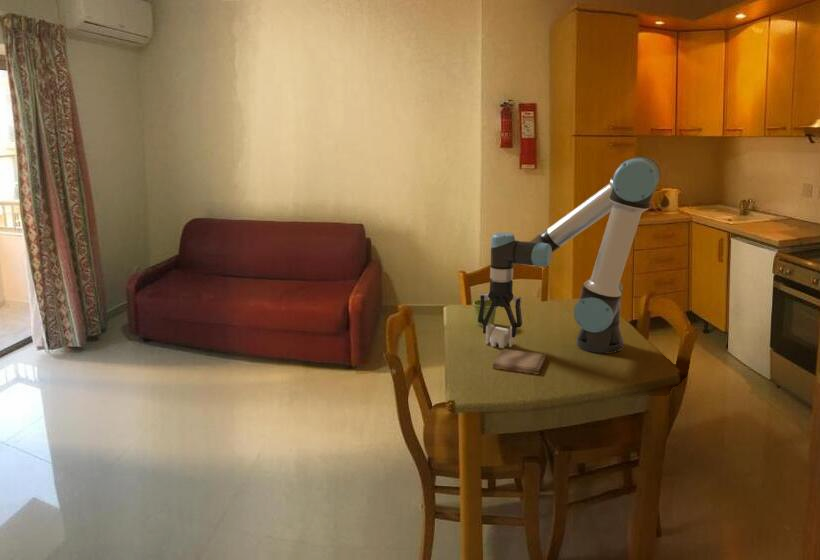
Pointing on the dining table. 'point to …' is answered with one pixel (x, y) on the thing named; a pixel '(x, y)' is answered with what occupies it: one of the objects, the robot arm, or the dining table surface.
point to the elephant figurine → (498, 336)
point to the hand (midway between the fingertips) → (499, 344)
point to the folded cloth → (519, 361)
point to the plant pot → (477, 308)
